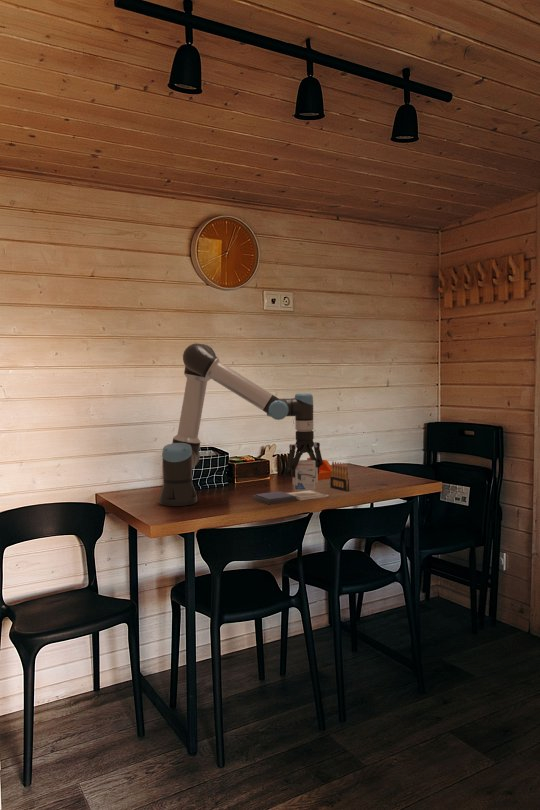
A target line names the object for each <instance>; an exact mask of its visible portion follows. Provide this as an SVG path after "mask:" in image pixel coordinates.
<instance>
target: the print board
mask: <svg viewBox="0 0 540 810" xmlns="http://www.w3.org/2000/svg"><path fill="white" fill-rule="evenodd" d="M285 493H286V494H289V495H292V496H295V497H296V500H298V501H305V500H312V499H318V498H319V499H320V498H327V497H329V496H330V495H329V494H326V493H323V492H320V491H315V490H305V489H302V490H297V491H296V490H295V491H289V492H285Z"/></svg>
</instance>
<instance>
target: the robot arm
mask: <svg viewBox="0 0 540 810" xmlns="http://www.w3.org/2000/svg"><path fill="white" fill-rule="evenodd" d="M182 361H183V364H184V372H183V374H184V376H185V377H186V382H185V387H184V394H183V400H182V404H181V405H182V406H181V411H180V417H179V422H178V423H179V424H178V429H177V434H176V435H174V436H173V437H172V443H168V444H166V445H164V446H163V448H162V453H161V456H162V479H163V480H162V481H163V483H162V487H161V491H160V494H159V499H158V500H159V502H158V503H159V504H160V505H161V506H166V507H183V506H191V505H194V504H197V502H198V495H197V491H196V490H195V487H194V484H193V469H194V468H195V467H196V466H197V465H198V463H199V462H200V457H201V455H200V448H201V440H200V438H199V433H200V426H201V420H202V413H203V408H204V402H205V396H206V390H207V385H208V382H209V381H210V380H212V381H214V382H216V383H217V384H219V385H221V386H222V387H224V388H226V389H227V390H229V391H230V392H233V394H236V395H237V396H238V397H240V398H242V399H243V400H245V401H247V403H250V404H251V405H253V406H255V407H256V408H258V409H259V410H262V411H263V412H264V413H266V416H267V417H271V418H272V419H274V420H276V421H280V420H283V419H285V418H286V417H294V418H295V420H294V421H295V423H294V425H295V427H294V428H295V430H296V431H295V443H294V444H293V443H292V444H289V446H288V447H289V452H288V457H287V462H286V468H287V469H290V477H291V478H292V480H291V481H292V485H293V486H295V485H296V486H297V485H298V480H297V470H296V467H297V464H298V462H299V460H301V458H302V456H303V454H305V453H307V454H308V455H309V458H311V460H315V468H316V484H317V483H319V480H318V474H319V467H320V466H321V465H323V461H322V460H323V458H322V454H321V453H322V452H321V449H320V448H321V447H320V445H321V444H320V442H316V441H315V442H314V438H315V435H314V397H313V394H312V393H296V394H295V395H294V397H293V398H278V397H277V396H275V395H274V394H272V393H271V392H269V391H267V390H266V389H264V388H263V387H261V386H259V385H258V384H256V383H255V382H253V381H251V380H250V379H248V378H247V377H245V376H244V375H242V374H240V373H239V372H237V371H235V370H234V369H232V368H231V367H229V366H227V365H226V364H224V363H222V362H221V361H220V359H219V357H218V356H217V355H216V352H215V351H214V350H213V348H212V347H211V346H210V345H208V344H204V343H191V344H190V345H188V346H187V347H186V348H185V350H183V354H182ZM313 448H314V449H313Z"/></svg>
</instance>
